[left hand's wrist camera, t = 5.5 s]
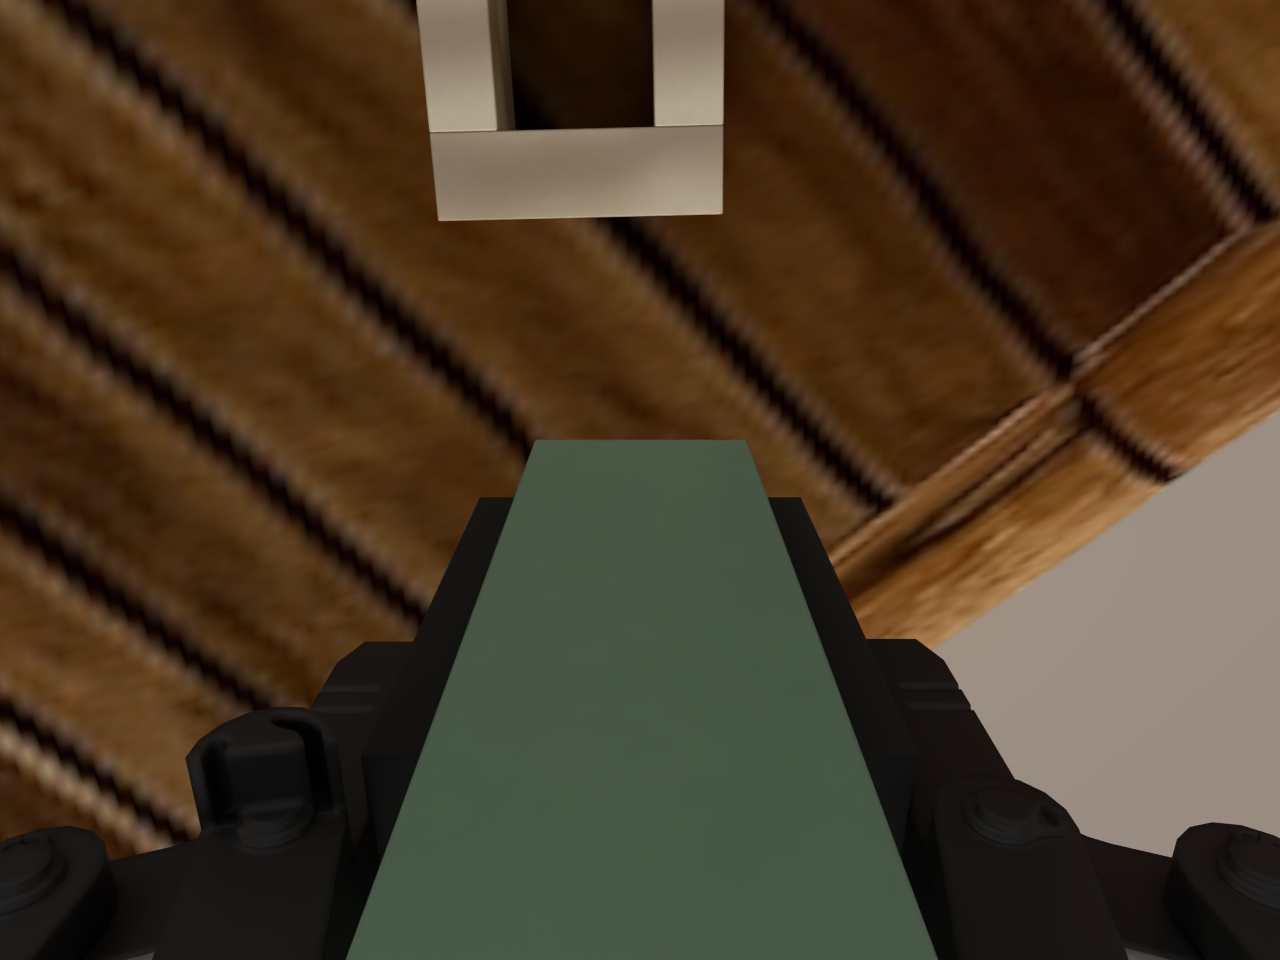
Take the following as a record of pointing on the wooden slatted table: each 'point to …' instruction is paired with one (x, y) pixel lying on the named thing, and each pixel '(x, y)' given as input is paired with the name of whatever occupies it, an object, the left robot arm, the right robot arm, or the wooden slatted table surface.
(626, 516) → the peg
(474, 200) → the peg board
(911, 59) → the wooden slatted table surface
